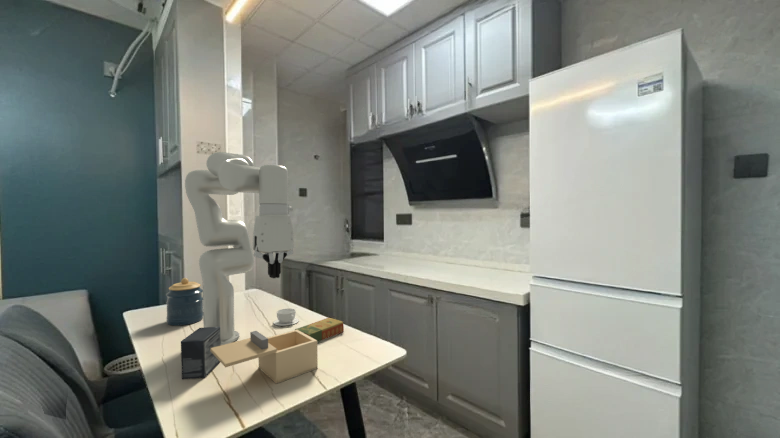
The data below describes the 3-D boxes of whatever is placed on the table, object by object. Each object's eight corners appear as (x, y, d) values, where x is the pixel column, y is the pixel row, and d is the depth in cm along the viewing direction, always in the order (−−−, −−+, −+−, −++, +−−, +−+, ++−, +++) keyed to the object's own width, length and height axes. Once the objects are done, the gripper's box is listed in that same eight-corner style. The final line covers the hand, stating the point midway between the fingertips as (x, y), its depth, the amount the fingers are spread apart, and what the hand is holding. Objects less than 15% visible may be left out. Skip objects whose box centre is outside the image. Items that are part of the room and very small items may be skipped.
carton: (344, 332, 122) (344, 321, 122) (309, 346, 110) (309, 334, 109) (328, 327, 127) (328, 316, 127) (293, 340, 115) (293, 328, 115)
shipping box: (258, 367, 94) (258, 339, 94) (297, 355, 102) (297, 329, 102) (276, 383, 85) (276, 353, 85) (317, 368, 93) (317, 340, 93)
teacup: (268, 323, 133) (268, 311, 133) (290, 317, 140) (290, 306, 140) (281, 328, 126) (281, 316, 126) (304, 322, 134) (304, 310, 134)
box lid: (210, 351, 86) (210, 338, 86) (258, 338, 94) (258, 327, 94) (225, 367, 77) (225, 353, 76) (277, 351, 85) (276, 339, 85)
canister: (158, 324, 131) (157, 280, 131) (187, 314, 143) (186, 274, 143) (183, 327, 127) (182, 282, 127) (211, 317, 140) (210, 275, 139)
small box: (199, 361, 98) (198, 326, 98) (222, 360, 99) (221, 326, 98) (179, 379, 88) (179, 340, 87) (205, 378, 88) (204, 339, 88)
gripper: (293, 210, 98) (293, 272, 99) (240, 210, 88) (241, 279, 89) (305, 210, 93) (305, 275, 93) (251, 210, 83) (251, 283, 83)
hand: (274, 277), depth 91 cm, fingers closed
